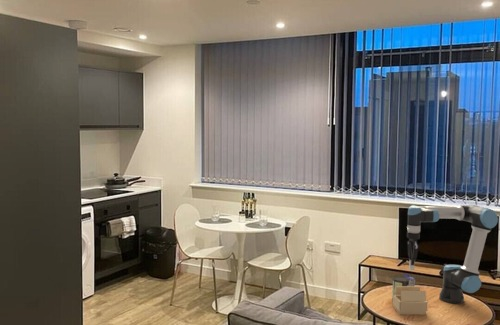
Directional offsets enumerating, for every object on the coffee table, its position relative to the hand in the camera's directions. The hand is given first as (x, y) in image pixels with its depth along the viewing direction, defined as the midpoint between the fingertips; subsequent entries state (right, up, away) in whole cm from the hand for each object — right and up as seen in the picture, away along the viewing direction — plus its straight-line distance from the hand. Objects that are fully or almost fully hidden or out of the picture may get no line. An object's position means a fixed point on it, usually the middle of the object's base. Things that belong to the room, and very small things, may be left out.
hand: (411, 269), depth 305 cm
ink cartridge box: (+6, -24, +30) cm, 39 cm away
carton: (-1, -26, +2) cm, 26 cm away
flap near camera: (0, -15, -4) cm, 15 cm away
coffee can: (0, -25, +22) cm, 33 cm away
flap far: (-1, -14, +6) cm, 15 cm away
